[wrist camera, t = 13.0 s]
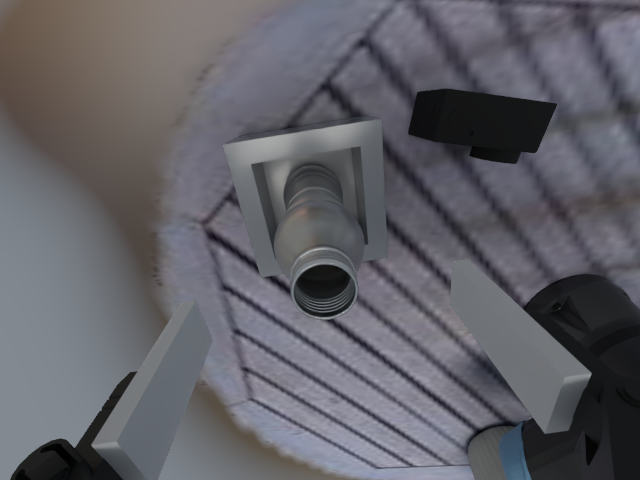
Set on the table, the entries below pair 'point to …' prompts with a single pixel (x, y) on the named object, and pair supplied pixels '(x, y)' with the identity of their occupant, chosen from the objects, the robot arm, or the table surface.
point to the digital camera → (481, 122)
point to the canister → (487, 454)
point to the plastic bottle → (319, 244)
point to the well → (302, 150)
